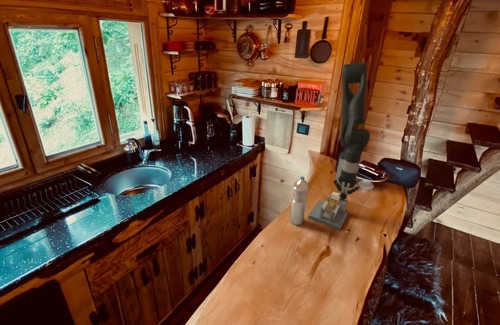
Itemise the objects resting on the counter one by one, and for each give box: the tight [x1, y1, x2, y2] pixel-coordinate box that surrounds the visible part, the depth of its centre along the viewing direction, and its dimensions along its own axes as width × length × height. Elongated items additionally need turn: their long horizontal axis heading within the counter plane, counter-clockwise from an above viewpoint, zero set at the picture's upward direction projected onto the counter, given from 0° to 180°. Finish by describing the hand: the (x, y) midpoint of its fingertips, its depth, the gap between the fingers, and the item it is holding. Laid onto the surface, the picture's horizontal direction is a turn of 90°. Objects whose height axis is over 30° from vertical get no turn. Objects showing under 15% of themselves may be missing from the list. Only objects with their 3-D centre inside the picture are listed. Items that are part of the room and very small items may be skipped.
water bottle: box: [289, 175, 310, 226], centre depth 130 cm, size 7×7×25 cm
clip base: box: [307, 194, 350, 231], centre depth 138 cm, size 16×16×8 cm
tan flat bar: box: [324, 197, 338, 213], centre depth 138 cm, size 14×3×1 cm, turn 148°
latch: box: [330, 191, 341, 202], centre depth 140 cm, size 3×4×3 cm
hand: (343, 198), depth 139 cm, fingers closed
